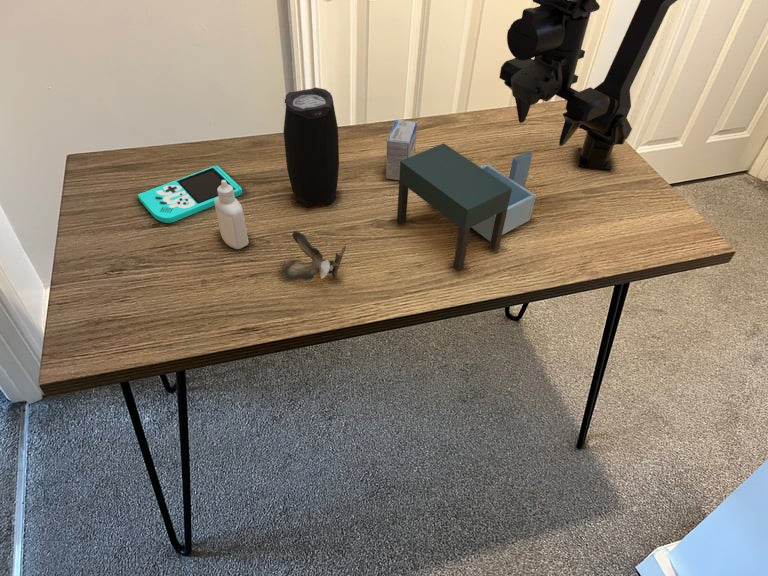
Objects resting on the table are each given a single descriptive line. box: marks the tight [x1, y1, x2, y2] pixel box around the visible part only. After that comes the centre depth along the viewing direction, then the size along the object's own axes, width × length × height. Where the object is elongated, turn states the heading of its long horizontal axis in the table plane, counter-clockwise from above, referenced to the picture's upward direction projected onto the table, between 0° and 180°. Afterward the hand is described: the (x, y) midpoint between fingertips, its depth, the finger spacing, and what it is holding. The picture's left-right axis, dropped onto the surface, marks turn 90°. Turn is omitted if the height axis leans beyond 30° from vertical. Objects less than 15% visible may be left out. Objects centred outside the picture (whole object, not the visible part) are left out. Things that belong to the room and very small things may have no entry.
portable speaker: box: [283, 87, 340, 208], centre depth 103 cm, size 9×9×20 cm
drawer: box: [470, 150, 537, 242], centre depth 105 cm, size 14×12×10 cm
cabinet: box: [396, 143, 512, 272], centre depth 99 cm, size 10×16×12 cm, turn 38°
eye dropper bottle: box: [214, 180, 250, 250], centre depth 97 cm, size 4×6×12 cm
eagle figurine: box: [283, 230, 347, 281], centre depth 94 cm, size 8×7×9 cm
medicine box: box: [385, 119, 418, 181], centre depth 114 cm, size 8×4×9 cm, turn 168°
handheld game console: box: [137, 165, 244, 224], centre depth 109 cm, size 10×16×1 cm, turn 129°
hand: (541, 133), depth 103 cm, fingers open, 9 cm apart
